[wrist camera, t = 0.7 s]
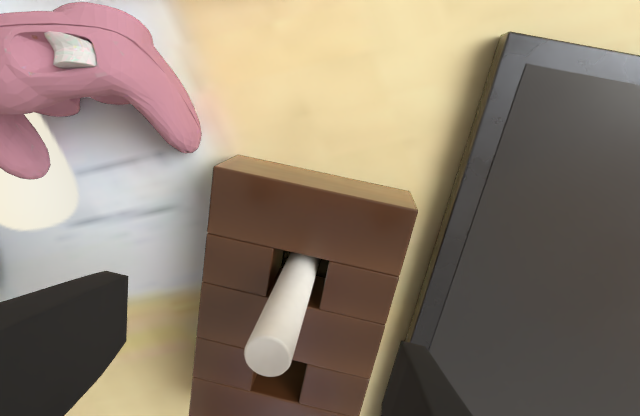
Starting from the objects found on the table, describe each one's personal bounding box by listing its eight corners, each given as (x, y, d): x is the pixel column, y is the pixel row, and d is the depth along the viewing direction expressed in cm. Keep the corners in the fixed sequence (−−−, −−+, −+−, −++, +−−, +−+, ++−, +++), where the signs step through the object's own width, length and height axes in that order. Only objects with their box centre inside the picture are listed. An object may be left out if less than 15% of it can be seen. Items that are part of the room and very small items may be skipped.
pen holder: (348, 414, 22) (345, 463, 19) (210, 380, 22) (187, 422, 19) (410, 191, 17) (419, 210, 15) (237, 154, 18) (212, 165, 15)
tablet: (653, 507, 21) (667, 527, 20) (374, 436, 22) (374, 452, 21) (922, 113, 14) (965, 114, 13) (500, 34, 15) (509, 30, 14)
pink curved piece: (208, 68, 18) (100, -51, 12) (212, 157, 17) (99, 85, 11) (37, 104, 20) (-145, 18, 13) (33, 186, 19) (-164, 139, 12)
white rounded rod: (318, 268, 19) (286, 382, 12) (290, 261, 19) (240, 371, 12) (324, 241, 19) (294, 343, 11) (295, 235, 19) (246, 331, 11)
